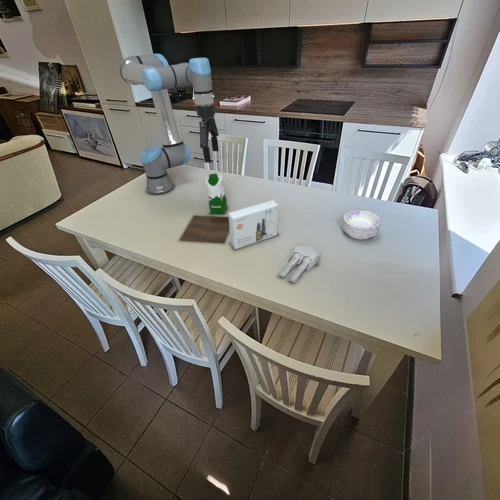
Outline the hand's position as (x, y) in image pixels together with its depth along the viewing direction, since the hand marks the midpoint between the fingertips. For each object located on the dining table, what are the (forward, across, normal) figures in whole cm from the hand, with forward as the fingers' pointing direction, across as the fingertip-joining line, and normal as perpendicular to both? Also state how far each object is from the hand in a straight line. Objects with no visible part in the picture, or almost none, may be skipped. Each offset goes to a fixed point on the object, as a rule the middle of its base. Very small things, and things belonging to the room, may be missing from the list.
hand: (211, 156), depth 126 cm
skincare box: (+28, -23, -22) cm, 42 cm away
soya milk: (+28, 0, 0) cm, 28 cm away
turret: (+29, -38, -42) cm, 63 cm away
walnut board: (+28, -17, +1) cm, 33 cm away
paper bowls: (+29, -14, -67) cm, 74 cm away
